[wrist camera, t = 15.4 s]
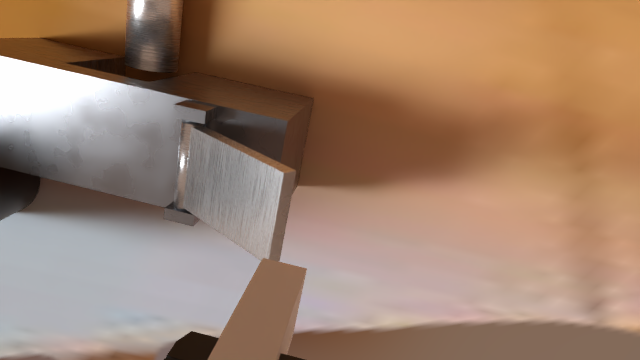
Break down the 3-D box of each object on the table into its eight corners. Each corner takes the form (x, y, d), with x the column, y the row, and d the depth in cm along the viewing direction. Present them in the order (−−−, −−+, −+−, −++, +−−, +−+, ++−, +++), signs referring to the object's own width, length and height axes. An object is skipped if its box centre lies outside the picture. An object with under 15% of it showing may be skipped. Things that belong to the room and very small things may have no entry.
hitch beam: (40, 124, 38) (-87, 158, 28) (38, 37, 35) (-100, 40, 25) (297, 185, 36) (261, 244, 26) (313, 98, 34) (281, 126, 24)
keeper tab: (169, 202, 27) (264, 268, 22) (177, 119, 25) (281, 171, 20) (187, 199, 27) (282, 261, 23) (195, 118, 26) (299, 168, 21)
